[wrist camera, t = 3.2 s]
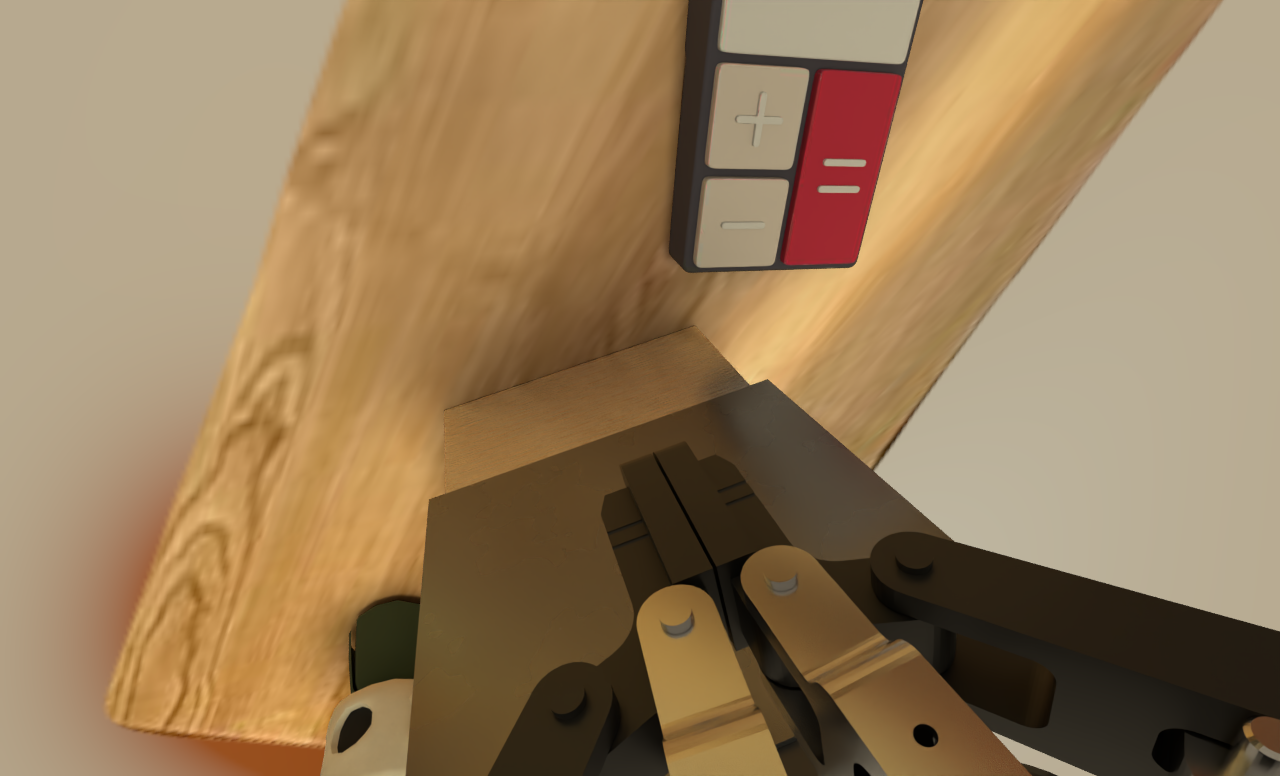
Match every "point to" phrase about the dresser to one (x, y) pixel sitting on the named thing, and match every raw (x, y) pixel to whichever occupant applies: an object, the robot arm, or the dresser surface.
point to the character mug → (376, 696)
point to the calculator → (784, 129)
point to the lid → (606, 565)
